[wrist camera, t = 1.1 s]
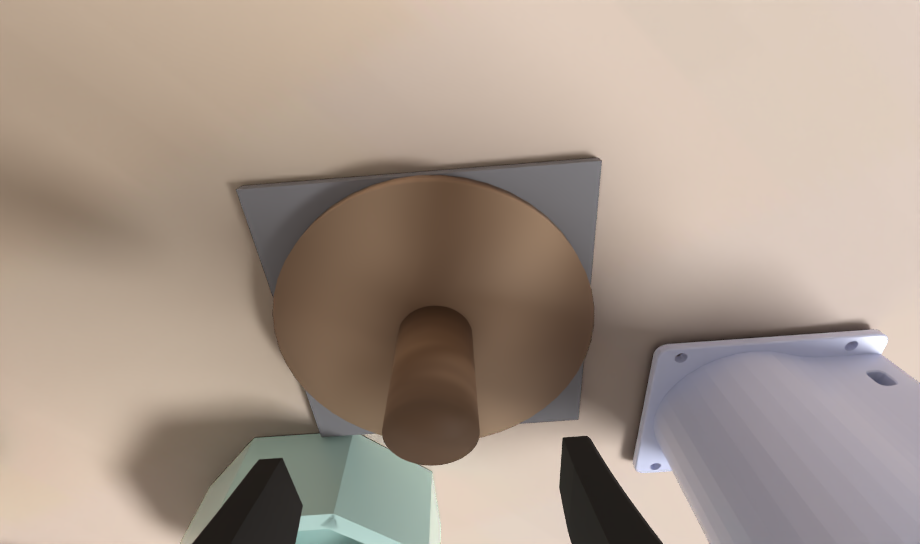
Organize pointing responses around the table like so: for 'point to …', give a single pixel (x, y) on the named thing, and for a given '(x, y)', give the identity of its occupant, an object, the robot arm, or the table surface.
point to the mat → (541, 184)
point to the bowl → (339, 491)
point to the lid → (433, 313)
